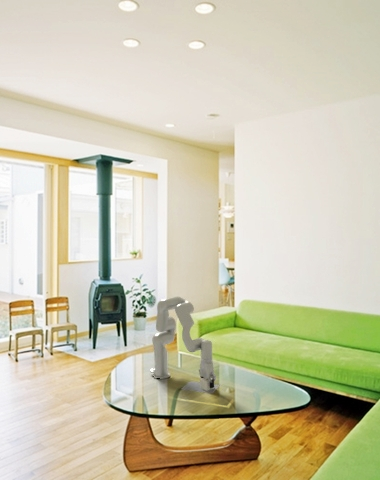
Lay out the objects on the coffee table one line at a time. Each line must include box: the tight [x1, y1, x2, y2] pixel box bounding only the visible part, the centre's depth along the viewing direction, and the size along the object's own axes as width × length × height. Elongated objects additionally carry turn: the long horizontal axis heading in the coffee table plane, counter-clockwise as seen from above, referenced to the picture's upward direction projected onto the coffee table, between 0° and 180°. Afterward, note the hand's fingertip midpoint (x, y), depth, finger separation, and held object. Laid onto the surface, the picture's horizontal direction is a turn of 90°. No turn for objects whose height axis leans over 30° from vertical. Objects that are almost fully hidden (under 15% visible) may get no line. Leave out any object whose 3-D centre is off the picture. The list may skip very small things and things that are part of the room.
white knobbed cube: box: [199, 378, 214, 391], centre depth 261 cm, size 7×7×7 cm
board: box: [181, 380, 221, 395], centre depth 263 cm, size 22×15×1 cm
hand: (207, 385), depth 261 cm, fingers open, 9 cm apart
